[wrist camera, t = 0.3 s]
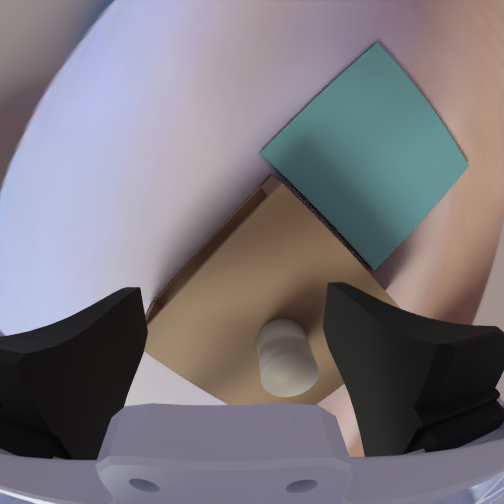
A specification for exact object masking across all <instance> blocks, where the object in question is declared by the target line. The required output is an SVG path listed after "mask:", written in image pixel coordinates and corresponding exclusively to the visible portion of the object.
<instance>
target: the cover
mask: <svg viewBox="0 0 504 504" xmlns="http://www.w3.org/2000/svg"><path fill="white" fill-rule="evenodd" d="M331 282H344V283H347V284H350V285H352V286H354V287H356V288H358V289H360V290H362V291H364V292H366V293H368V294H370V295H372V296H373V297H375V298H377V299H380V300H382V301H384V302H386V303H388V304H390V305H393V306H395V307H397V308H400V307H399V306H398V305H397V304H396V303H395V302H394V300H393V299H392V298H391V297H390V296H389V295H388V293H387V292H386V291H385V290H384V289H383V288H382V287H381V286H380V284H379V283H378V282H377V281H376V280H375V279H374V278H373V277H372V275H371V274H370V273H369V272H368V271H367V270H366V269H365V268H364V267H363V266H362V264H361V263H360V262H359V261H358V260H357V259H356V258H355V257H354V256H353V255H352V254H351V253H350V252H349V250H348V249H347V248H346V247H345V246H344V245H343V244H342V243H341V242H340V241H339V240H338V239H337V238H336V237H335V236H334V235H333V234H332V233H331V231H330V230H329V229H328V228H327V227H326V226H325V225H324V224H323V223H322V222H321V221H320V220H319V219H318V218H317V217H316V216H315V215H314V214H313V213H312V212H311V211H310V210H309V209H308V208H307V207H306V206H305V205H304V204H303V203H302V202H301V201H300V200H299V199H298V198H297V197H296V196H295V195H294V194H293V193H292V192H291V191H290V190H289V189H288V188H287V187H286V186H285V185H284V184H283V183H281V182H280V181H279V180H278V179H276V178H275V177H274V176H273V175H270V176H269V177H268V178H267V179H266V180H265V181H264V182H263V183H262V184H261V185H260V186H259V187H258V188H257V189H256V190H255V191H254V192H253V193H252V194H251V195H250V196H249V197H248V198H247V199H246V200H245V202H244V203H243V204H242V205H241V206H240V207H239V208H238V209H237V210H236V211H235V212H234V213H233V214H232V215H231V216H230V217H229V218H228V220H227V221H226V222H225V223H224V224H223V225H222V226H221V227H220V228H219V229H218V230H217V231H216V232H215V233H214V235H213V236H212V237H211V238H210V239H209V240H208V241H207V242H206V243H205V244H204V245H203V247H202V248H201V249H200V250H199V251H198V252H197V253H196V254H195V255H194V256H193V257H192V259H191V260H190V261H189V262H188V263H187V264H186V265H185V266H184V267H183V269H182V270H181V271H180V272H179V273H178V274H177V275H176V276H175V277H174V279H173V280H172V281H171V282H170V283H169V284H168V285H167V286H166V288H165V289H164V290H163V291H162V292H161V293H160V294H159V296H158V297H157V298H156V299H155V300H154V301H153V302H152V303H151V305H150V306H149V308H148V310H147V312H146V315H145V318H146V323H147V328H148V336H147V340H146V345H145V349H144V351H145V352H146V353H147V354H149V355H150V356H152V357H153V358H155V359H156V360H157V361H159V362H160V363H162V364H163V365H165V366H166V367H168V368H169V369H171V370H172V371H174V372H175V373H177V374H178V375H180V376H182V377H183V378H185V379H186V380H188V381H189V382H191V383H193V384H194V385H196V386H197V387H199V388H201V389H202V390H204V391H206V392H207V393H209V394H211V395H212V396H214V397H216V398H217V399H219V400H221V401H223V402H224V403H226V404H228V405H258V404H275V403H296V404H309V405H316V404H318V403H319V402H320V401H322V400H323V399H324V398H326V397H327V396H329V395H330V394H331V393H333V392H334V391H335V390H336V389H338V388H339V387H340V386H342V385H343V384H344V381H343V379H342V377H341V375H340V372H339V370H338V368H337V366H336V364H335V361H334V359H333V357H332V355H331V353H330V350H329V348H328V345H327V341H326V338H325V334H324V330H323V322H324V313H325V304H326V294H327V283H331Z"/></svg>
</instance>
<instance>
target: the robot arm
mask: <svg viewBox="0 0 504 504" xmlns="http://www.w3.org/2000/svg"><path fill="white" fill-rule="evenodd" d="M323 330H324V334H325V338H326V341H327V345H328V348H329V350H330V353H331V355H332V357H333V359H334V361H335V364H336V366H337V368H338V370H339V372H340V375H341V377H342V379H343V381H344V383H345V386H346V388H347V390H348V393H349V395H350V398H351V402H352V405H353V408H354V412H355V415H356V419H357V423H358V427H359V431H360V435H361V440H362V444H363V449H364V454H365V457H349V454H348V451H347V448H346V445H345V442H344V439H343V437H342V434H341V431H340V428H339V425H338V422H337V419H336V416H334V415H333V414H331V413H330V412H328V411H326V410H325V409H323V408H321V407H320V406H318V405H309V404H296V403H275V404H258V405H220V406H210V405H172V404H155V403H152V404H143V405H134V406H125V407H124V404H125V401H126V398H127V394H128V392H129V389H130V386H131V384H132V381H133V379H134V376H135V374H136V371H137V368H138V366H139V363H140V361H141V358H142V355H143V353H144V349H145V345H146V340H147V336H148V328H147V323H146V318H145V313H144V307H143V301H142V296H141V290H140V287H126V288H123V289H120V290H118V291H116V292H114V293H112V294H111V295H109V296H107V297H105V298H104V299H102V300H100V301H98V302H97V303H95V304H93V305H91V306H89V307H87V308H86V309H84V310H82V311H80V312H78V313H76V314H74V315H72V316H70V317H68V318H66V319H63V320H61V321H58V322H56V323H53V324H51V325H48V326H45V327H41V328H38V329H35V330H32V331H28V332H24V333H19V334H15V335H9V336H3V337H0V504H504V401H503V400H502V399H501V398H500V393H499V392H498V390H497V389H496V388H495V387H496V385H497V383H498V381H499V379H500V377H501V375H502V373H503V371H504V332H503V331H502V330H500V329H499V328H498V327H496V326H474V325H463V324H455V323H449V322H443V321H439V320H435V319H430V318H426V317H423V316H419V315H416V314H413V313H410V312H407V311H405V310H402V309H400V308H397V307H395V306H393V305H390V304H388V303H386V302H384V301H382V300H380V299H377V298H375V297H373V296H372V295H370V294H368V293H366V292H364V291H362V290H360V289H358V288H356V287H354V286H352V285H350V284H347V283H344V282H331V283H327V294H326V304H325V313H324V322H323Z"/></svg>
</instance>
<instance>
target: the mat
mask: <svg viewBox="0 0 504 504" xmlns="http://www.w3.org/2000/svg"><path fill="white" fill-rule="evenodd" d="M260 154H261V155H262V156H263V157H264V158H265V159H266V160H268V161H269V162H270V163H271V164H272V165H273V166H274V167H275V168H276V169H277V170H278V171H279V172H280V173H281V174H282V175H283V176H284V177H285V178H286V179H287V180H288V181H289V182H290V183H291V184H292V185H293V186H294V187H295V188H296V189H297V190H298V191H299V192H300V193H301V194H302V195H303V196H304V197H305V198H306V199H307V200H308V201H309V202H310V203H311V204H312V205H313V206H314V207H315V208H316V209H317V210H318V211H319V212H320V213H321V214H322V215H323V216H324V217H325V218H326V219H327V220H328V221H329V222H330V223H331V224H332V225H333V226H334V227H335V228H336V230H337V231H338V232H339V233H340V234H341V235H342V236H343V237H344V238H345V239H346V240H347V241H348V242H349V243H350V245H351V246H352V247H353V248H354V249H355V250H356V251H357V252H358V253H359V254H360V255H361V257H362V258H363V259H364V260H365V261H366V262H367V263H368V264H369V265H370V267H371V268H372V269H373V270H374V271H375V270H376V269H377V268H378V267H379V266H380V265H381V264H382V263H383V262H384V261H385V260H386V259H387V258H388V257H389V256H390V255H391V254H392V253H393V252H394V251H395V249H396V248H397V247H398V246H399V245H400V244H401V243H402V242H403V241H404V240H405V239H406V238H407V237H408V236H409V235H410V234H411V232H412V231H413V230H414V229H415V228H416V227H417V226H418V225H419V224H420V223H421V221H422V220H423V219H424V218H425V217H426V216H427V215H428V214H429V212H430V211H431V210H432V209H433V208H434V207H435V206H436V204H437V203H438V202H439V201H440V200H441V199H442V197H443V196H444V195H445V194H446V193H447V192H448V190H449V189H450V188H451V187H452V186H453V184H454V183H455V182H456V181H457V180H458V178H459V177H460V176H461V175H462V173H463V172H464V171H465V170H466V168H467V167H468V166H469V165H468V163H467V161H466V160H465V158H464V156H463V154H462V153H461V151H460V149H459V148H458V146H457V144H456V143H455V141H454V140H453V138H452V136H451V135H450V133H449V132H448V130H447V129H446V127H445V126H444V124H443V123H442V121H441V120H440V118H439V117H438V115H437V114H436V112H435V111H434V110H433V108H432V107H431V105H430V104H429V103H428V101H427V100H426V99H425V97H424V96H423V95H422V93H421V92H420V91H419V89H418V88H417V87H416V86H415V84H414V83H413V82H412V80H411V79H410V78H409V77H408V76H407V74H406V73H405V72H404V71H403V69H402V68H401V67H400V66H399V65H398V64H397V62H396V61H395V60H394V59H393V58H392V57H391V56H390V54H389V53H388V52H387V51H386V50H385V49H384V48H383V47H382V46H381V45H380V44H379V42H377V43H375V44H374V45H373V46H372V47H371V48H370V49H368V50H367V51H366V52H365V53H364V54H363V55H362V56H360V57H359V58H358V59H357V60H356V61H355V62H354V63H353V64H351V65H350V66H349V67H348V68H347V69H346V70H345V71H344V72H343V73H341V74H340V75H339V76H338V77H337V78H336V79H335V80H334V81H333V82H332V83H331V84H330V85H328V86H327V87H326V88H325V89H324V90H323V91H322V92H321V93H320V94H319V95H318V96H317V97H316V98H315V99H314V100H312V101H311V102H310V103H309V104H308V105H307V106H306V107H305V108H304V109H303V110H302V111H301V112H300V113H299V114H298V115H297V116H296V117H295V118H294V119H293V120H292V121H291V122H290V123H289V124H288V125H287V126H286V127H285V128H284V129H283V130H282V131H281V132H280V133H279V134H278V135H277V136H276V137H275V138H274V139H273V140H272V141H271V142H270V143H269V144H268V145H267V146H266V147H265V148H264V149H263V150H262V151H261V152H260Z"/></svg>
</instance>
